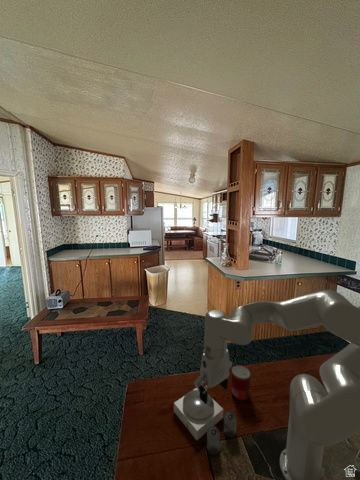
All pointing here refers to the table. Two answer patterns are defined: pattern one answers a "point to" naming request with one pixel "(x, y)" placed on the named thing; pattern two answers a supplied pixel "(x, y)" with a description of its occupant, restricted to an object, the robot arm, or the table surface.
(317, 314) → the robot arm
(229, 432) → the spacer
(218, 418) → the scale
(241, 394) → the canned food
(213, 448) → the spacer
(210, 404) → the pan
